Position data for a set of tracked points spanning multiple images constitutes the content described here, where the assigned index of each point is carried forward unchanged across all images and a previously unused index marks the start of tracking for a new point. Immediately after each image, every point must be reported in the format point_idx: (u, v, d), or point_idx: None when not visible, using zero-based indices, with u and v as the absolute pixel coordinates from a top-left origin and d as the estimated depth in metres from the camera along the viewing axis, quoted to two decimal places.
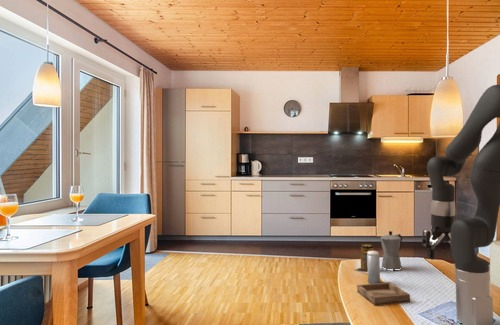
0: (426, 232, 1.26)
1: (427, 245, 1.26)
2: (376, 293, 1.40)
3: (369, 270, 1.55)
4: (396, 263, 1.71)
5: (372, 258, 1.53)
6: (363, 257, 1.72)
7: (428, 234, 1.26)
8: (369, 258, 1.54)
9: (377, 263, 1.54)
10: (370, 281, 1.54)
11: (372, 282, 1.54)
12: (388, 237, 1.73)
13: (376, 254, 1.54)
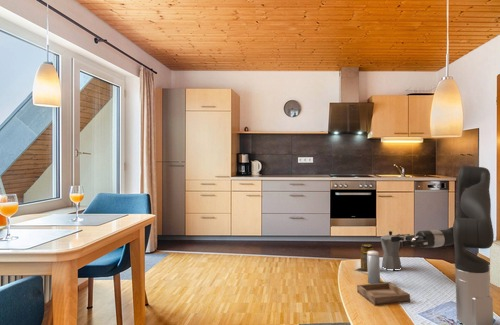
0: None
1: None
2: (376, 293, 1.40)
3: (369, 270, 1.55)
4: (396, 263, 1.71)
5: (372, 258, 1.53)
6: (362, 257, 1.72)
7: (407, 234, 1.65)
8: (369, 258, 1.54)
9: (377, 263, 1.54)
10: (370, 281, 1.54)
11: (372, 282, 1.54)
12: (388, 237, 1.73)
13: (376, 254, 1.54)
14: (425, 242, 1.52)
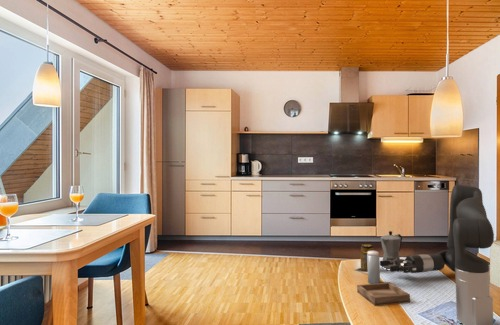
0: None
1: (388, 258, 1.64)
2: (376, 293, 1.40)
3: (369, 270, 1.55)
4: None
5: (372, 258, 1.53)
6: (362, 257, 1.72)
7: (396, 258, 1.64)
8: (369, 258, 1.54)
9: (377, 263, 1.54)
10: (370, 281, 1.54)
11: (372, 282, 1.54)
12: (388, 237, 1.73)
13: (376, 254, 1.54)
14: (414, 268, 1.51)
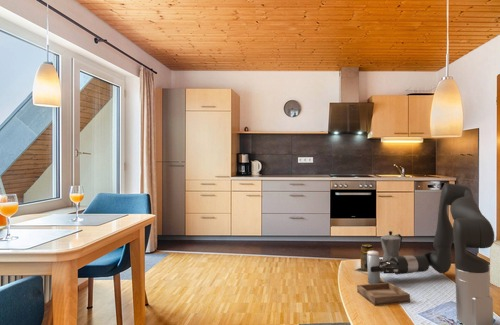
0: None
1: None
2: (376, 293, 1.40)
3: (369, 270, 1.55)
4: None
5: (372, 258, 1.53)
6: (363, 257, 1.72)
7: (379, 259, 1.63)
8: (369, 258, 1.54)
9: (377, 263, 1.54)
10: (370, 281, 1.54)
11: (372, 282, 1.54)
12: (388, 237, 1.73)
13: (376, 254, 1.54)
14: (395, 269, 1.50)
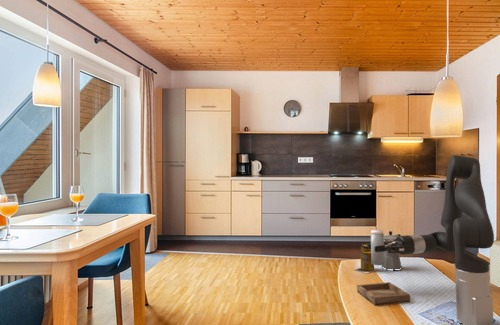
0: None
1: None
2: (376, 293, 1.40)
3: (373, 250, 1.44)
4: (396, 263, 1.71)
5: (376, 237, 1.43)
6: (362, 257, 1.72)
7: None
8: (373, 237, 1.44)
9: (381, 242, 1.43)
10: (374, 262, 1.43)
11: (376, 263, 1.43)
12: (388, 237, 1.73)
13: (380, 233, 1.43)
14: (400, 248, 1.39)
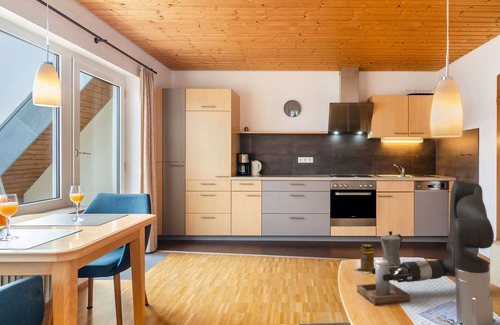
0: None
1: None
2: None
3: (377, 281, 1.38)
4: (396, 263, 1.71)
5: (381, 268, 1.37)
6: (363, 257, 1.72)
7: None
8: (377, 268, 1.38)
9: (386, 273, 1.37)
10: (378, 293, 1.38)
11: (381, 294, 1.37)
12: (388, 237, 1.73)
13: (385, 263, 1.37)
14: (409, 276, 1.34)
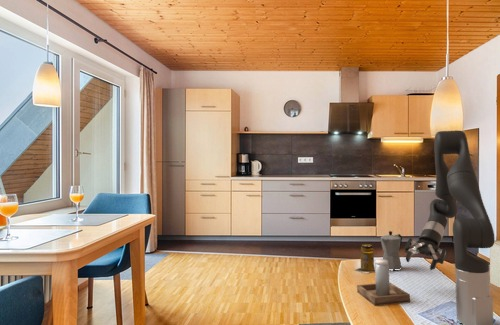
0: None
1: (405, 246, 1.45)
2: None
3: (377, 281, 1.38)
4: (396, 263, 1.71)
5: (381, 268, 1.37)
6: (363, 257, 1.72)
7: (409, 240, 1.47)
8: (377, 268, 1.38)
9: (386, 273, 1.37)
10: (378, 293, 1.38)
11: (381, 294, 1.37)
12: (388, 237, 1.73)
13: (385, 263, 1.37)
14: (445, 252, 1.39)
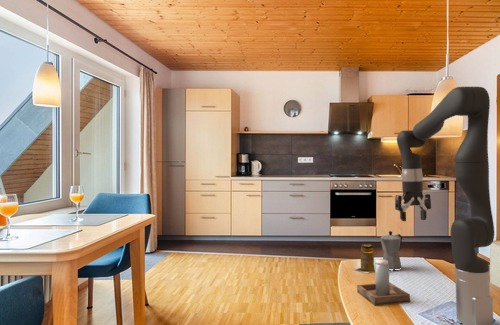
0: (398, 196, 1.43)
1: (399, 208, 1.42)
2: None
3: (377, 281, 1.38)
4: (396, 263, 1.71)
5: (381, 268, 1.37)
6: (362, 257, 1.72)
7: (399, 198, 1.43)
8: (377, 268, 1.38)
9: (386, 273, 1.37)
10: (378, 293, 1.38)
11: (381, 294, 1.37)
12: (388, 237, 1.73)
13: (385, 263, 1.37)
14: None
